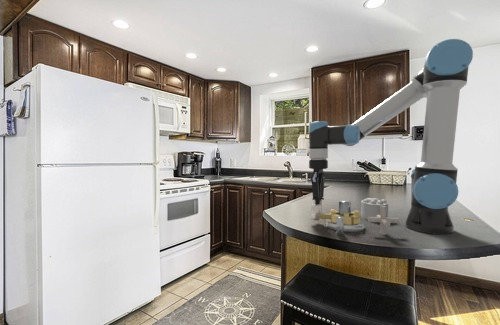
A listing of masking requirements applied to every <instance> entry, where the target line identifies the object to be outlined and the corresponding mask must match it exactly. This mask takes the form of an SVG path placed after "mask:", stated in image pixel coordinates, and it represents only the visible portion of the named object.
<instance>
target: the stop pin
mask: <svg viewBox="0 0 500 325" xmlns="http://www.w3.org/2000/svg"><path fill="white" fill-rule="evenodd" d="M335 231H336V233H335V235H337V236H344V217H337V219H336V230H335Z"/></svg>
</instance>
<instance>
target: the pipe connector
mask: <svg viewBox="0 0 500 325" xmlns="http://www.w3.org/2000/svg"><path fill="white" fill-rule="evenodd" d="M366 221H367V222H368V223H379V234H380V235H381V236H386V235H387V232H386V230H387V229H386V228H387V227H390V226H391V224H400V218H398V217H388V218H386V206H380V215H377V216H376V217H368V218H367V219H366Z"/></svg>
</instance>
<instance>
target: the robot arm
mask: <svg viewBox="0 0 500 325" xmlns="http://www.w3.org/2000/svg"><path fill="white" fill-rule="evenodd" d="M472 48H473V47H472V46H471V45H470V44H469V43H468V42H466V41H465V40H464V39H463V40H462V39H460V38H449V39H445V40H443V41H440V42H438V43H436V44H435V45H433V46H432V47H431V49H430V50H429V51H428V52H427V54H426V56H425V62H424V64H423V65H424V66H423V68H422V69H421V70H420V71H419V72H418V73H417V74H416V75H414V76H412V77H411V79H410V82H409V83H408V84H406V85H405V86H403V87H402V88H400V89H399V90H398V91H396V92H395V93H394V94H392V95H391V96H390V97H388V98H386V99H385V100H384V101H382V102H381V103H380V104H378V105H377V106H376V107H374V108H373V109H371V110H370V111H369V112H367V113H365V115H363V116H361V117H360V118H359V119H357V120H356V121H354V122H353V123H352V124H345V125H342V124H341V125H329V122H328V121H325V120H323V121H317V120H316V121H312V122H310V124H309V128H308V129H309V130H308V142H309V143H308V146H309V147H308V148H309V149H308V150H309V151H307V153H308V156H309V161H308V168H309V169H310V170H311V169H312V170H313V171H312V174H311V175H312V176H311V177H310V181H311V188H312V189H311V191H312V192H311V193H312V201H314V204H320V205H321V213H323V201H325V200H324V199H325V198H324V194H325V193H324V190H325V179H326V175H325V173H324V170H326V169H329V168H328V166H329V162H328V158H329V149H328V147H329V145H332V146H333V145H343V146H347V147H354V146H355V145H357V144H359V143H360V141H361V140H362V139H364V138H365V137H367V136H368V135H369V134H371V133H372V132H374V131H375V130H377V129H379V128H380V127H381V126H383V125H384V124H386V123H387V122H389V121H390V120H392V119H394V118H395V117H396V116H398V115H400V113H403V112H404V111H406V110H407V109H408V108H410V107H411V106H413V105H414V104H416V103H417V102H419V101H420V100H422V99H424V98H426V103H425V104H426V106H425V113H424V114H425V116H424V124H423V126H424V127H423V134H422V135H423V138H422V146H421V158H420V162H419V163H418V164H415V166H414V169H412V170H411V175H410V178H411V187H410V188H411V190H410V192H411V193H410V202H411V203H410V208H409V211H408V213H407V216H406V219H405V227H406V228H408V229H411V230H413V231H418V232H422V233H426V234H435V235H437V234H438V235H448V234H453V233H454V229H455V228H454V224H453V221H452V218H451V215H450V212H449V207H450V206H452V205H453V204H454V203H455V202H456V201H457V199H458V196H459V188H458V184H457V180H458V170H459V169H458V168H457V167H456V166H455V165H454V164H453V160H454V150H455V143H456V142H455V140H456V139H455V138H456V133H457V121H458V112H459V110H458V109H459V100H460V93H461V89H462V88H464V87H465V86H466V85H467V83H468V75H469V73H468V72H469V67H470V64H471V63H472V61H473V57H474V52H473V49H472Z"/></svg>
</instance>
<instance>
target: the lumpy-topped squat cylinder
mask: <svg viewBox="0 0 500 325" xmlns="http://www.w3.org/2000/svg"><path fill="white" fill-rule="evenodd" d="M360 201H361V202H360V203H361V204H360V218H362V219H364V220H367V218H368V217H376V216H377V215H380V206H386V218H389V203H388V202H387V200H386V199H383V198H382V199H379V198H377V197H376V198H375V197H374V198H373V197H366V198H364V199H362V200H360Z"/></svg>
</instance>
